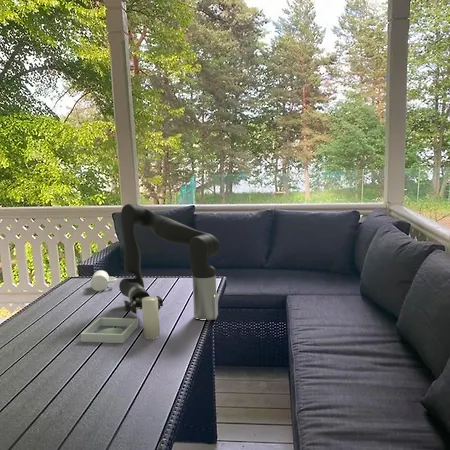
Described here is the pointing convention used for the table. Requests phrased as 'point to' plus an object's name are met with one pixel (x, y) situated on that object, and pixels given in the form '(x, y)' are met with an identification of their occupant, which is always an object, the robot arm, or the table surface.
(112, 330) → the pad
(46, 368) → the table surface
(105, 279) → the mug
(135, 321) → the square picture frame
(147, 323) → the canister
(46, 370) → the table surface
